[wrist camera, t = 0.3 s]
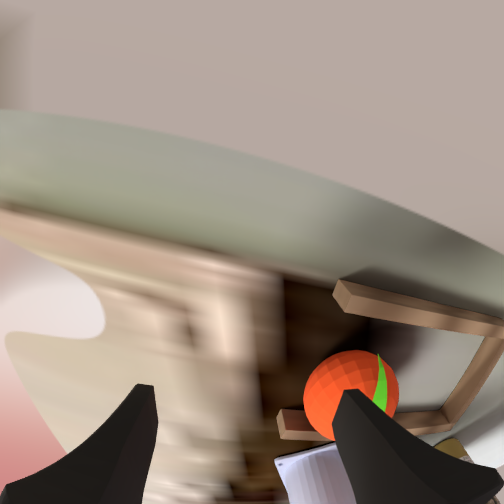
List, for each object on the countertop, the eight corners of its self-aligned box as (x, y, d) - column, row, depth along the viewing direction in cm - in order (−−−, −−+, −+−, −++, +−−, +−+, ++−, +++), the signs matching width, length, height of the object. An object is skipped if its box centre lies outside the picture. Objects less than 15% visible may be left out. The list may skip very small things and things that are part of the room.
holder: (500, 318, 24) (515, 329, 21) (440, 416, 27) (450, 430, 25) (338, 279, 20) (351, 294, 18) (276, 417, 24) (280, 438, 22)
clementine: (308, 317, 21) (340, 383, 14) (391, 320, 22) (439, 374, 15) (287, 400, 23) (304, 467, 17) (361, 396, 24) (391, 454, 17)
